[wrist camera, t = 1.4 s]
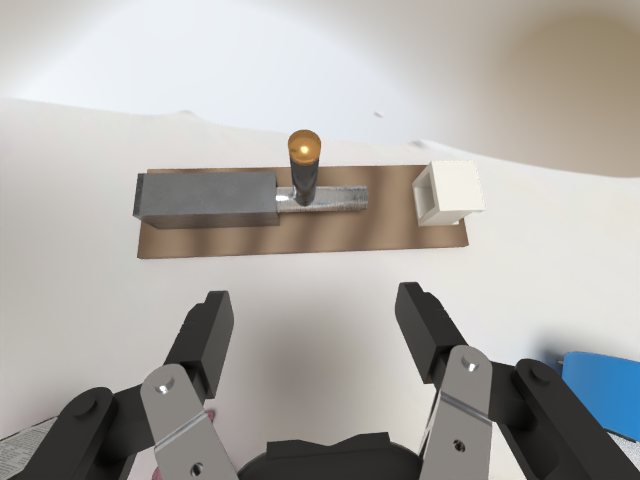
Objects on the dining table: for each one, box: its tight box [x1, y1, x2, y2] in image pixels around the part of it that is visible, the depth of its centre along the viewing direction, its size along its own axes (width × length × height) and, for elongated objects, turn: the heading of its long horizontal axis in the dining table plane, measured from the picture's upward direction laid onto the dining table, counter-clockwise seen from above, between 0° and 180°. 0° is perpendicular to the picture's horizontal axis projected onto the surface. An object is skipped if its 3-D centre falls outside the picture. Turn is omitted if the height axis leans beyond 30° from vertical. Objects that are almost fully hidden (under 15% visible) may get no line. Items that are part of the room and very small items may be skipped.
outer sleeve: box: [133, 171, 280, 230], centre depth 30 cm, size 14×5×5 cm, turn 93°
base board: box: [137, 165, 469, 259], centre depth 33 cm, size 39×11×1 cm, turn 93°
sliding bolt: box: [276, 130, 368, 212], centre depth 26 cm, size 22×3×12 cm, turn 93°
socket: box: [412, 160, 486, 226], centre depth 31 cm, size 5×6×5 cm
